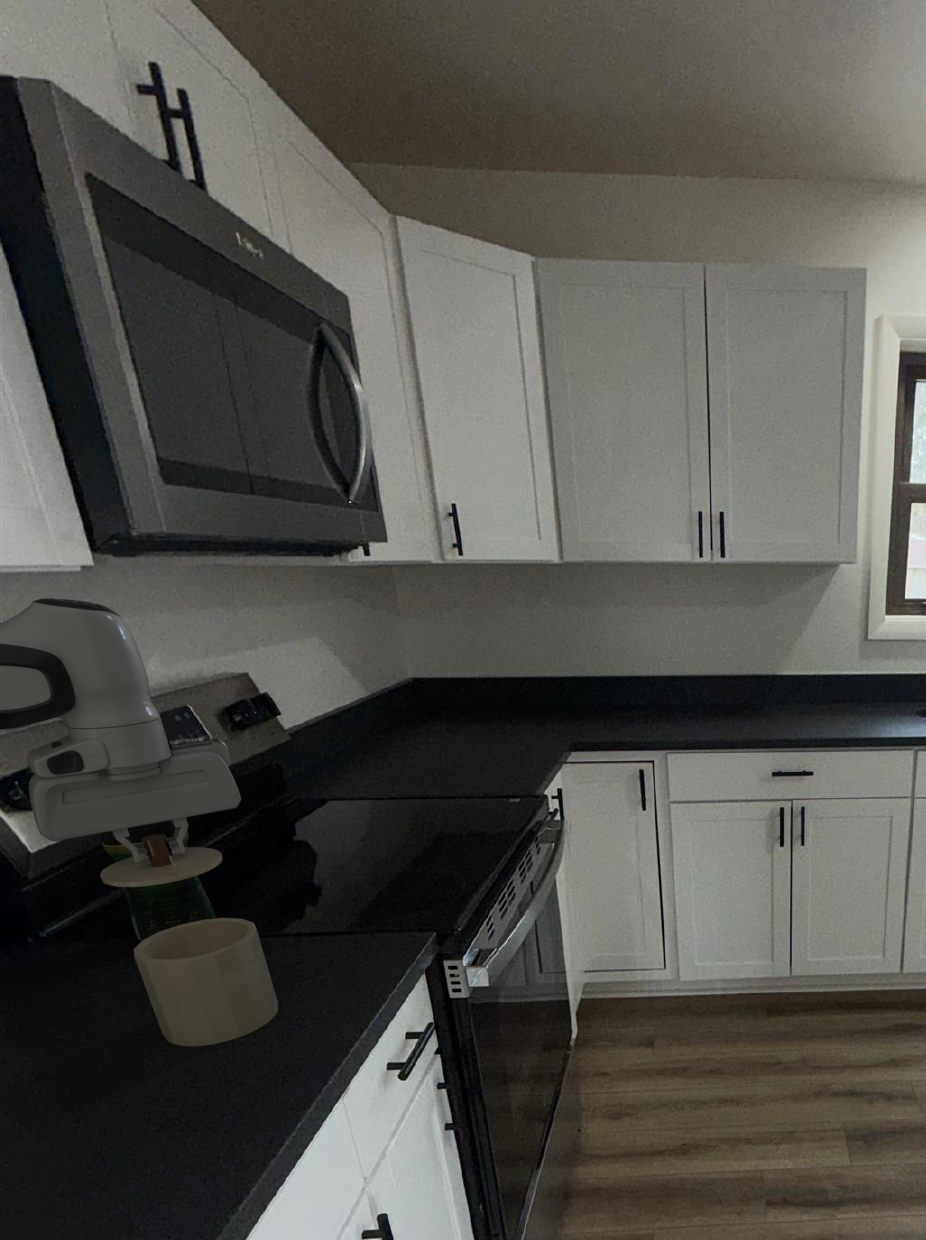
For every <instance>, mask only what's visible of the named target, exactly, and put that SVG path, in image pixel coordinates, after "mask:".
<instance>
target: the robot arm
mask: <svg viewBox="0 0 926 1240" xmlns="http://www.w3.org/2000/svg"><path fill="white" fill-rule="evenodd" d="M149 691H150V690H149V676H148V673H147V669H146V667H145V664H144V661H143V658H142V655H141V652H140V649H139V648H138V645H137V643H136V640H135V637H134V635H133V633H132V631H131V629H130V627H129V626H128V624H127V622H126V620H125V619H124V618H123V617H122V616H121V615H120V614H119V613H117V612H116V611H115V610H113V609H111V608H110V607H108V606H105V605H103V604H101V603H95V602H91V601H83V600H78V599H77V600H75V599H67V598H55V597H52V598H51V597H50V598H49V597H47V598H46V597H45V598H39V599H35V600H33V601H32V602H31V603H30V604H29V606H27V607H26V608H25V609H23V610H22V611H20V612H19V613H17V614H15V615H14V616H12V617H10V618H9V619H7V620H5V621H3V622H0V730H2V731H5V730H6V731H7V730H17V729H22V728H26V727H29V726H31V725H34V724H38V723H41V722H45V721H48V720H49V721H50V720H52V719H57V718H59V719H62V720H63V721H64V723H65V726H66V728H67V729H66V730H67V731H68V735H66V736H63V737H61V738H58V739H56V740H53V741H51V742H49V743H46V744H43V745H42V746H39V747H36V748H33V749H32V750H29V752H27V755H26V762H27V765H28V767H29V768H30V771H32V772H33V775H32V776H31V778H30V780H29V782H28V795H29V801H30V806H31V809H32V814H33V817H34V821H35V824H36V827H37V830H38V832H39V835H41V836H42V837H44V838H45V839H46V840H49V841H51V842H59V841H64V840H69V839H75V838H81V837H87V836H91V835H97V834H101V833H103V832H108V831H112V834H113V836H114V837H115V838H116V839H117V840H118V841H119V842H120V843H122V844H123V845H124V846H125V847H127V848H128V849H129V850H130V852H131V855H132V857H133V860H134V861H135V863H140V862H144V861H148V860H150V858H149V856H148V855H147V853H148V852H147V849H146V847H145V846H144V845H143V844H141V845H136V846H135V845H134V844H133V843H131V842H130V841H129V840H128V839H127V838H125V837H129V836H130V835H129V832H128V829H127V828H130V827H135V826H141V825H146V824H152V823H157V822H163V821H168V820H171V823H172V824H173V825H174V826H175V827H176V829H175V832H174V836H173V838H171V839H167V842H168V845H169V848H170V851H171V854H172V856H173V855H178V854H183V853H186V851H185V847H184V844H183V841H182V840H183V839H184V837H185V834H186V831H187V830H188V828H189V822H188V819H187V818H188V817H195V816H201V815H207V814H210V813H211V814H212V813H217V812H221V811H227V810H233V809H237V808H238V806H239V805H240V803H241V801H242V796H241V794H240V789H239V788H238V784H237V783H236V781H235V778H234V776H233V774H232V773H231V770H230V766H231V764H232V758H231V753H230V751H229V748H228V746H227V744H226V743H225V742H224V741H222V740H221V739H218V738H216V737H215V738H214V737H211V736H210V735H199V736H197V737H188V738H187V737H186V738H184V737H183V738H175V739H168V737H167V734H166V730H165V727H164V724H163V722H162V718H161V715H160V712H159V711H158V709H157V707H156V706H155V705H154V703H153V702H152V701H153V700H152V699H151V696H150V692H149ZM213 742H214V743H213Z"/></svg>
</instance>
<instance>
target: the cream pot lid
mask: <svg viewBox="0 0 926 1240" xmlns="http://www.w3.org/2000/svg"><path fill="white" fill-rule="evenodd" d="M142 841H143V844H144V846H145V847H146V849H147V852H148V853H147V855H148V856H149V858H150V860H148V861H144V862H140V863H135V861H134V860H133V857H130V858H127V859H124V860H121V861H119V862H116V863H115V862H113V863H112V864H110V865H109V866H106V867H105V868H103V869H102V870H101V872H100V875H99V877H100V879H101V882H103V884H105V885H108V886H111V887H116V888H117V887H118V888H124V887H142V886H152V885H159V884H165V883H170V882H175V881H179V880H183V879H187V878H190V877H194V876H199V875H202V874H205V873H207V872H210V871H212V870H213V869H215V868H216V867H218V866H219V865H220V864H221V863H222V862H223V861H224V860H223V859H224V857H223V854H222V853H221V851H219V850H217V849H215V848H210V847H204V846H203V847H201V846H187V847H186V848H185V851H186V853H183V854H178V855H173V856H172V854H171V851H170V848H169V845H168V842H167V839H166V836H165V835H164V834H156V835H150V836H146V837H144V838H142Z"/></svg>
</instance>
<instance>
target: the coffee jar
mask: <svg viewBox="0 0 926 1240" xmlns="http://www.w3.org/2000/svg"><path fill="white" fill-rule="evenodd" d="M127 829H128V832H129V835H130V836H129V837H125V838H127V839H128V840H129V841H130V842H131V843H133V844H134V845H135V846H136V845H141V844H143V841H142V838H144V837H146V836H150V835H156V834H164V835H165V836H166V839H171V838H173V836H174V832H175V829H176V827H175V826H174V825H173V824H172V823H171V820H168V821H163V822H157V823H152V824H146V825H141V826H135V827H130V828H127ZM188 831H189V830H188V829H187V831H186V834H185V837H184V839H183V840H182V841H183V844H184V847H185V848H186V847H188V842H189V832H188ZM100 837H101V844H102V847H103V849H104V851H105V852H106V853H107V854H108V855H109V856H110V857H111V859H112V861H114V863H116V862H119V861H121V860H124V859H127V858H130V857H132V855H131V852H130V850H129V849H128V848H127V847H125V846H124V845H123V844H122V843H120V842H119V841H118V840H117V839H116V838H115V837H114V836H113V834H112V831H108V832H103V833H100ZM143 845H144V844H143ZM123 889H124V893H125V896H126V901H127V905H128V909H129V914H130V918H131V921H132V925H133V929H134V932H135V936H136V938H137V940H138V941H139V942H140V943H141V942H142V941H143V940H144V939H146V938H148V937H150V936H152V935H154V934H156V933H158V932H160V931H163V930H166V929H169V928H172V927H175V926H178V925H182V924H186V923H191V922H196V921H200V920H207V919H217V917H216V914H215V911H214V908H213V905H212V903H211V901H210V899H209V897H208V895H207V893H206V891H205V888H204V886H203V884H202V882H201V880H200V878H199V875H197V876H194V877H190V878H187V879H183V880H179V881H175V882H170V883H165V884H159V885H152V886H142V887H123Z"/></svg>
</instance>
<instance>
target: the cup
mask: <svg viewBox="0 0 926 1240" xmlns="http://www.w3.org/2000/svg"><path fill="white" fill-rule="evenodd" d="M133 957H134V961H135V962H136V966H137V968H138V971H139V974H140V976H141V979H142V982H143V986H144V988H145V990H146V993H147V995H148V998H149V1001H150V1004H151V1007H152V1009H153V1010H152V1011H153V1012H154V1015H155V1018H156V1020H157V1023H158V1026H159V1029H160V1032H161V1034H162V1036H163V1037H164V1039H165V1040H166V1041H167V1042H169V1043H170V1044H172V1045H175V1046H179V1047H180V1046H181V1047H203V1046H210V1045H216V1044H217V1045H218V1044H221V1043H225V1042H229V1041H232V1040H235V1039H239V1038H241V1037H245V1036H246V1035H249V1034H251V1033H253V1032H255V1031H257V1030H259V1029H261V1028H262V1027H264V1026H265V1025H267V1024H268V1023H269V1022H270V1021H272V1020H273V1019H274V1018H275V1017H276V1016H277V1014H278V1011H279V1002H278V998H277V994H276V991H275V989H274V984H273V982H272V976H271V973H270V971H269V967H268V964H267V960H266V957H265V954H264V950H263V946H262V942H261V940H260V936H259V933H258V929H257V927H256V925H255V923H254V922H253V921H250V920H247V919H244V918H232V917H219V918H217V917H216V919H207V920H200V921H196V922H191V923H186V924H182V925H178V926H175V927H172V928H169V929H166V930H163V931H160V932H158V933H156V934H154V935H152V936H150V937H148V938H146V939H144V940H143V941H142V942H141V941H140V942H139V943H138V944H137V945H136V946H135V947H134V948H133Z"/></svg>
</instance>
